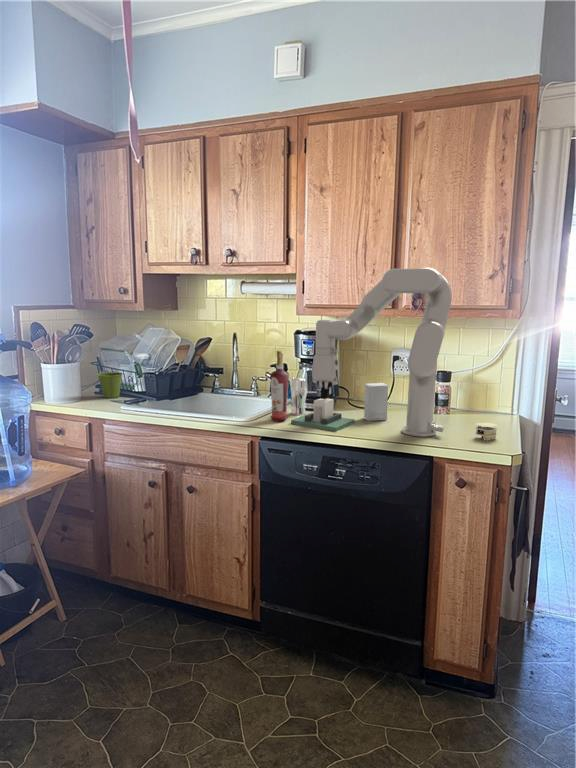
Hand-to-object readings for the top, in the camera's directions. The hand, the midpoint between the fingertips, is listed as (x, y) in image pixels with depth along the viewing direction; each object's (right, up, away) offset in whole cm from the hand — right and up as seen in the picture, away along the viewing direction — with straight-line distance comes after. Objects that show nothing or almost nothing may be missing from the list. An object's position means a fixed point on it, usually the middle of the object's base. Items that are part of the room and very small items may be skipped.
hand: (324, 398), depth 206 cm
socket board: (-1, -10, +2) cm, 10 cm away
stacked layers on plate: (+57, -15, -16) cm, 61 cm away
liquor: (-18, -9, +6) cm, 21 cm away
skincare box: (+21, -9, +10) cm, 25 cm away
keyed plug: (-1, -9, +2) cm, 9 cm away
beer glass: (-10, -7, +18) cm, 22 cm away
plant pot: (-100, -1, +46) cm, 110 cm away
